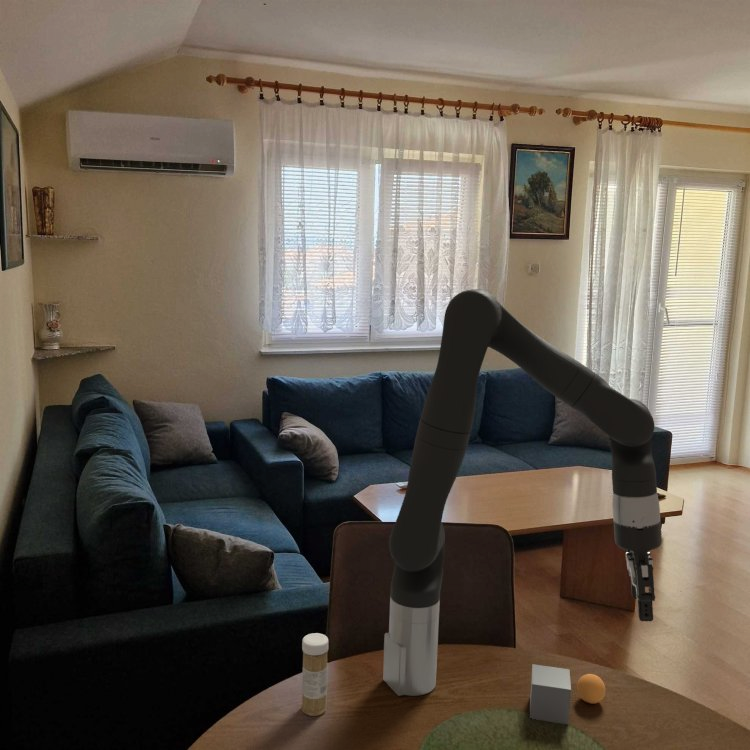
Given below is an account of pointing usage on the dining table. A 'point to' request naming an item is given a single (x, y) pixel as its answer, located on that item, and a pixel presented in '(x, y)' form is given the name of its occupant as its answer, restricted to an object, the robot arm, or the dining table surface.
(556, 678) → the matte gray cube
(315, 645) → the sprinkles bottle
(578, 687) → the ball
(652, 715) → the dining table surface
